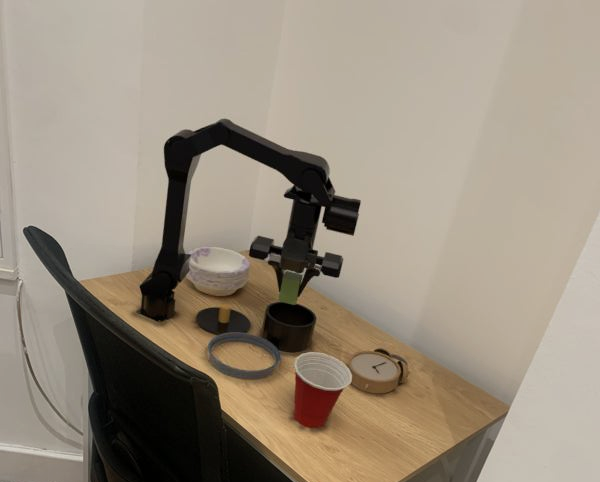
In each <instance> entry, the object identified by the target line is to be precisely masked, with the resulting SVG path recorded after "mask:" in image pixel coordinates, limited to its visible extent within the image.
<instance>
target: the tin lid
mask: <svg viewBox="0 0 600 482" xmlns="http://www.w3.org/2000/svg"><path fill="white" fill-rule="evenodd" d="M195 321H196V324H197V325H198V327H200V329H202V331H203V330H204V331H205V332H207V333H209V334H212V335H215V336H218V335H220V334H223V333H230V332H241V333H248V332H249V331H250V329H251V325H252V323H251V321H250V319H249V318H248V317H247V316H246V315H245V314H244V313H242V312H239V310H235V309H232V306H231V305H230V304H228V303H221V304H220V305H219V306H214V307H213V306H212V307H207V308H203V309H201V310H199V311H198V312H197V314H196V316H195Z"/></svg>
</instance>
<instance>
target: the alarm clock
mask: <svg viewBox="0 0 600 482" xmlns="http://www.w3.org/2000/svg"><path fill="white" fill-rule="evenodd" d="M396 360H397V361H396ZM347 363H348V364H347V367H348V368H349V370H350V372H351V374H352V381H351V383H350V384H351V385H352V386H354V387H356V388H357V389H358V390H361V391H364V392H365V393H366V392H367V393H370V394H385V393H390V392H392V391H393V390H395V389H396V388H397V386H398V384H400V383H404V382H406V381H407V379H408V378H409V375H410V374H411V371H410V369H409V362H408V361H407V360H406V359H405V358H404V357H402V356H400V355H398V354H394V353H391V352H390V351H389V350H388V349H386V348H384V347H377V348H376V349H374V350H361V351H357V352H354V353H353V354H351V356H350V357H349V359H348V362H347Z"/></svg>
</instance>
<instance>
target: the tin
mask: <svg viewBox="0 0 600 482" xmlns="http://www.w3.org/2000/svg"><path fill="white" fill-rule="evenodd" d="M316 323H317V316H316V313H315V312H313V311H312V310H311V309H310V308H308V307H306V306H304V305H303V304H299V303H297V302H296V304H295V305H292V304H288V303H284V302H280V301H275V302H271V303H269V304H268V305H266V308H265V310H264V316H263V321H262V327H261V332H260V337H261V338H264V339H266V340H268V341H269V342H271V343H272V344H273V345H274V346H275V347H276V348H277V349H278V351H279V352H283V353H289V354H292V353H293V354H297V353H302V352H305V351H307V350H308V349H309V348H310V347H311V343H312V339H313V335H314V332H315V328H316Z"/></svg>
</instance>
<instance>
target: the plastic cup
mask: <svg viewBox="0 0 600 482" xmlns="http://www.w3.org/2000/svg"><path fill="white" fill-rule="evenodd" d="M293 368H294V375H295V378H294V381H295V382H294V401H293V404H294V409H293V410H294V412H293V416H294V419H295V421H296V422H297V423H298V424H300V425H301V426H303V427H306V428H309V429H317V428H320V427H322V426H324V425H325V424H326V423H327V419H328V418H329V416H330V414H331V413H332V411H333V410H334V407H335V405H336V404H337V402H338V399H339V398H340V396H341V394H342V393H343V391H344V390H345V389H346V388H347V387H348V386H349V385H350V384H352V383H351V381H352V374H351V372H350V370H349V368H348V365H346V364H345V363H344V362H343V361H341V360H340V359H338V358H336V357H334V356H333V355H330V354H326V353H323V352H318V351H317V352H314V351H309V352H304V353H301V354H300V355H298V356H297V357H295V359H294V363H293Z"/></svg>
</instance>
